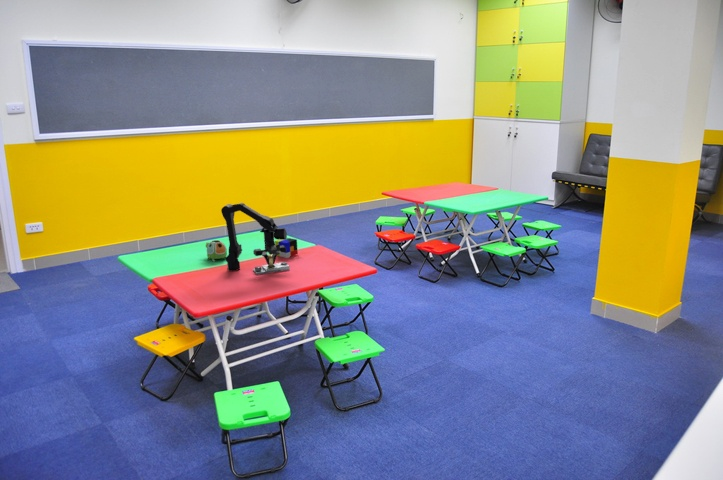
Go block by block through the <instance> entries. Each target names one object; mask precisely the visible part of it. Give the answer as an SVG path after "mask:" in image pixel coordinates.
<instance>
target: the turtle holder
mask: <svg viewBox="0 0 723 480" xmlns="http://www.w3.org/2000/svg"><path fill="white" fill-rule="evenodd" d="M205 248H206V256H207V259H206V260H207V261H209V260H212V262H216V260H218V259H219V260H220V259H225V258H226V257H227V256H228V253H227V251H228V249H227V247H226V245H225V243H223V241H221V240H220V239H214V240H210V242H208V241H207V242H206V243H205Z"/></svg>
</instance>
